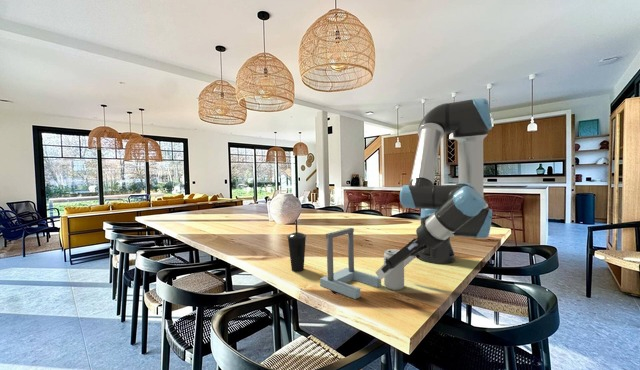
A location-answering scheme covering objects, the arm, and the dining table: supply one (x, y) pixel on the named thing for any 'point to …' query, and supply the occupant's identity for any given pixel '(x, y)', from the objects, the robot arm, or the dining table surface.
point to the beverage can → (394, 273)
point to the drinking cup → (297, 250)
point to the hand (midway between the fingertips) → (389, 270)
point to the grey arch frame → (345, 275)
